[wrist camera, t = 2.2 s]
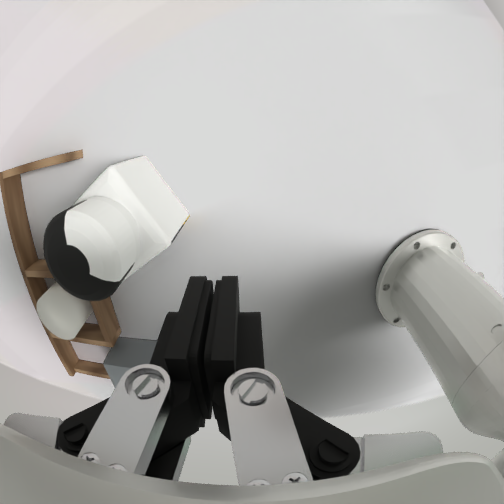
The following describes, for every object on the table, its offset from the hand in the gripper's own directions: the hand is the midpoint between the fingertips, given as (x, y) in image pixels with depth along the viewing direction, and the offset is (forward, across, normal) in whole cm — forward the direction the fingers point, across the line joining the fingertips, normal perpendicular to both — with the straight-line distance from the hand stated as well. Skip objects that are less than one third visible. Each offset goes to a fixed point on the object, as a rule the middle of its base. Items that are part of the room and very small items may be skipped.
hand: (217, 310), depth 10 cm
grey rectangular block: (+16, +11, +19) cm, 27 cm away
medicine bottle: (+16, +9, 0) cm, 19 cm away
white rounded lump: (+16, +20, +11) cm, 28 cm away
